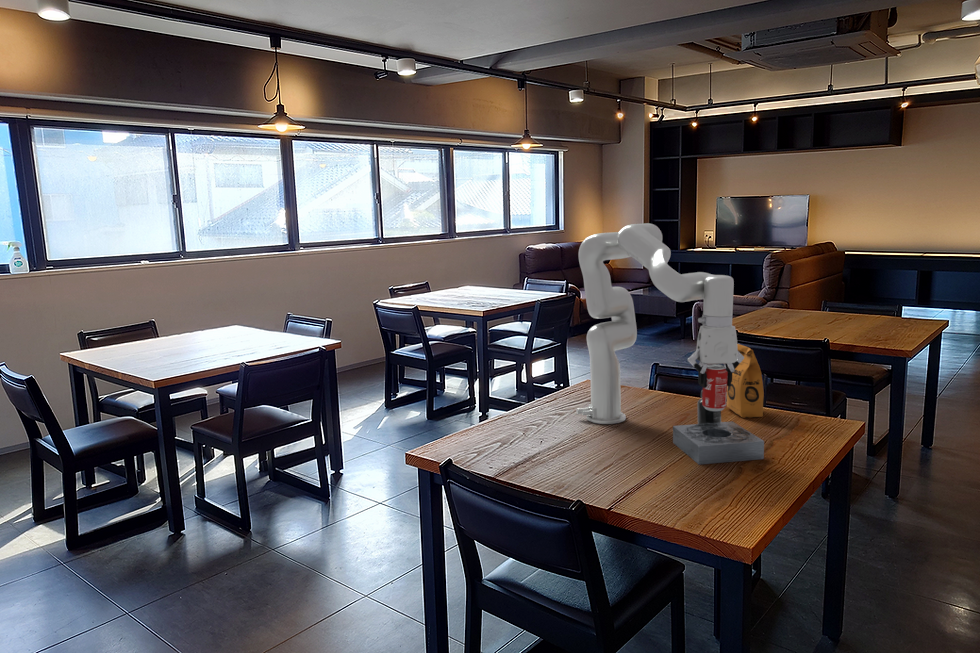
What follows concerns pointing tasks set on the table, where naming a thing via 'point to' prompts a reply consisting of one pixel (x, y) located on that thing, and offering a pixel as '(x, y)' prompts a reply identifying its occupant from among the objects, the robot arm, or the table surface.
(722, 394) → the beverage can
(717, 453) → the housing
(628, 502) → the table surface
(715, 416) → the supplement bottle
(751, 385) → the coffee package
